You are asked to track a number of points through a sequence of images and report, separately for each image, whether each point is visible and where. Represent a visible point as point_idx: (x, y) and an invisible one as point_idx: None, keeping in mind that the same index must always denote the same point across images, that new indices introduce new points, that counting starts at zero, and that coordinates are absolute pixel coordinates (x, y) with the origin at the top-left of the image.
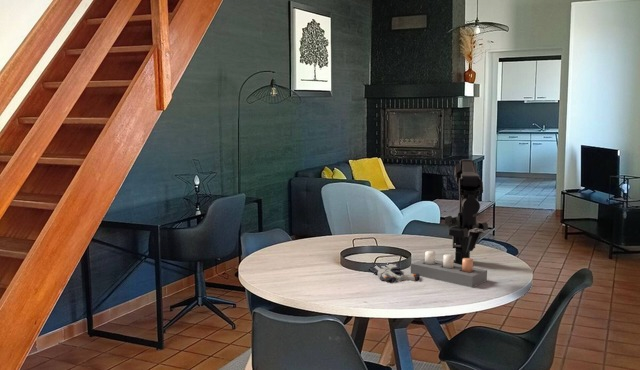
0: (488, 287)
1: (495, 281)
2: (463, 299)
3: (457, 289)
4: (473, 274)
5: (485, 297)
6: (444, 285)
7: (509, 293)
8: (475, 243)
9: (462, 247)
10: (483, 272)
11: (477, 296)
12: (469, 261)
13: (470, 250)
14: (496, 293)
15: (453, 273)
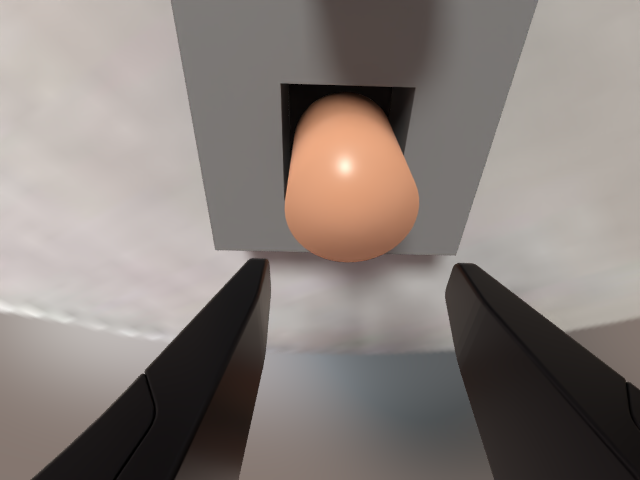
0: (304, 265)
1: None
2: (11, 260)
3: (115, 154)
4: (269, 235)
5: (142, 312)
6: (99, 17)
7: (283, 351)
8: (494, 449)
9: (195, 331)
10: (394, 249)
11: (119, 285)
12: (306, 242)
13: (451, 280)
14: None
15: (187, 69)
